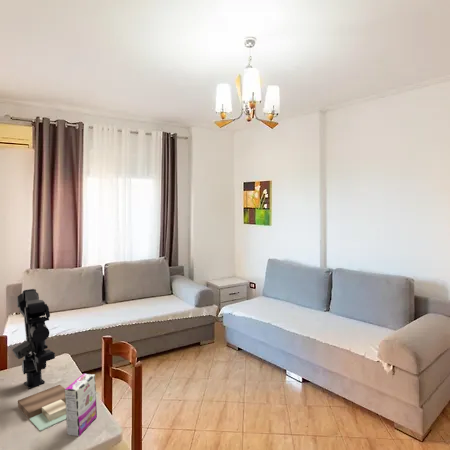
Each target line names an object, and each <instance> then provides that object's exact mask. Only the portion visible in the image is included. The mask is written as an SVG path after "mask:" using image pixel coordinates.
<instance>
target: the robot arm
mask: <svg viewBox="0 0 450 450" xmlns="http://www.w3.org/2000/svg"><path fill="white" fill-rule="evenodd" d="M16 308H18V312H19V313H20V314H21V315H22V316H23V322H24V330H25V341H24V342H22V343H21V344H18V345H17V346H15V347H13V349H12V352H13V354H14V356H15V358H17V359H18V360H20V359H22V358H23V359H22V363H21V368H22V369H21V370H22V373H23V375H26V381H24V382H23V385H25V386H26V387H27V389H33V388H34V387H37V386H39V385H40V386H41V385H43V384H45V383H46V381H45V380H44V379H42V378H43V376H42V373H43V372H42V370H45V369H46V368H47V362H48V361H51V360H55V359H56V353H55V352H54V351H52V350H51V349H48V345H47V343H46V340H47V339H48V338H49V336H50V330H49V328H48V327H47V324H46V321H50V317H51V313H50V309H49V305H48V304H47V303H46V302H45V301H44V300H43V299H40V297H39V292H37V290H36V289H35V288H29V289H24V290H22V293H20V294H19V295H18V296H17V297H16Z"/></svg>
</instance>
